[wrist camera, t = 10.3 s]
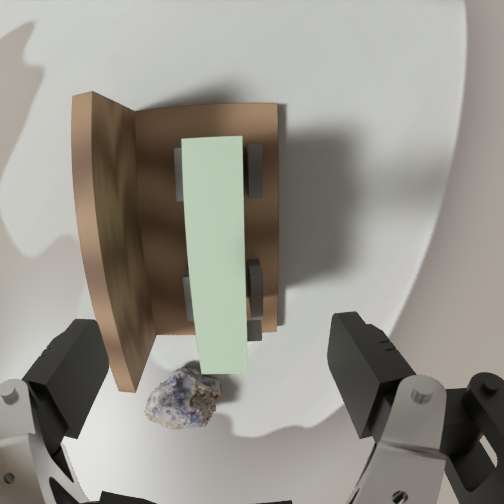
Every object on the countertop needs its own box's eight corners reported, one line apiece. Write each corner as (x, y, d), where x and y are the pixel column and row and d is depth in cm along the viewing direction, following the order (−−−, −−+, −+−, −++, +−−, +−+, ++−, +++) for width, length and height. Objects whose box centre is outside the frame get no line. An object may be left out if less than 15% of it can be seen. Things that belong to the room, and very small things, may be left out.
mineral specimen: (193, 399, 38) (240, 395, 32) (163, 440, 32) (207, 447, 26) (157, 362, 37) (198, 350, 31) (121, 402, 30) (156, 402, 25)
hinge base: (123, 115, 23) (72, 96, 14) (275, 105, 24) (300, 75, 15) (145, 329, 30) (119, 391, 20) (275, 326, 31) (292, 390, 21)
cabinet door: (202, 149, 24) (181, 138, 14) (249, 147, 24) (262, 135, 14) (210, 299, 28) (201, 374, 18) (252, 298, 28) (263, 372, 18)
